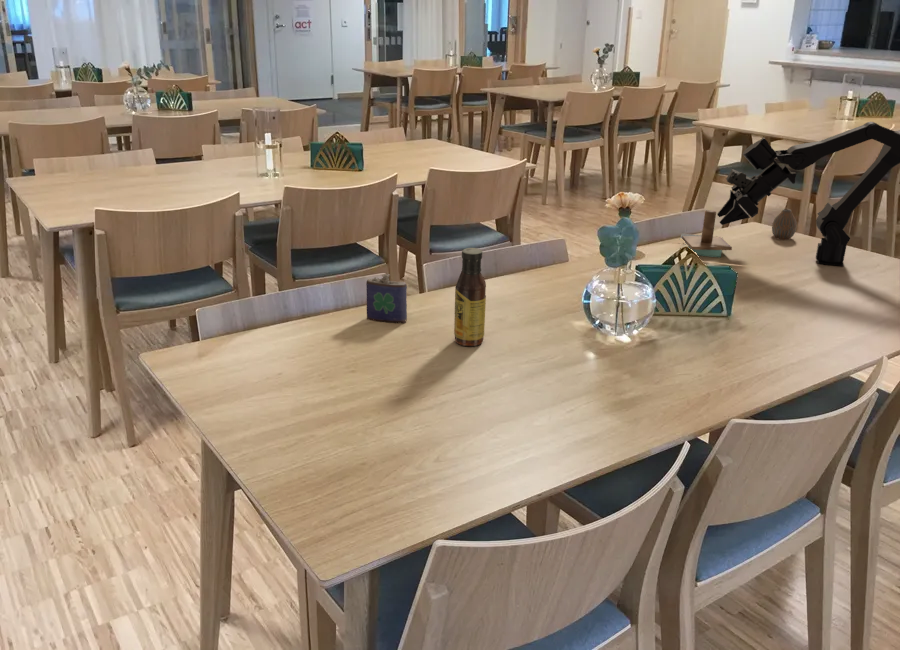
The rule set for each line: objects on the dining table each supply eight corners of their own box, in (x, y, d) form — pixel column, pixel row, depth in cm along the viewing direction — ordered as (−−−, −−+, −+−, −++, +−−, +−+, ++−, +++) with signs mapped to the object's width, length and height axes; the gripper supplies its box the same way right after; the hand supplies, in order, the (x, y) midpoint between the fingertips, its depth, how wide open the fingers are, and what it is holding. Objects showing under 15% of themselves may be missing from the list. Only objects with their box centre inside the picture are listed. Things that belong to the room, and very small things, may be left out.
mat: (722, 238, 244) (722, 237, 243) (720, 249, 233) (720, 247, 233) (681, 234, 247) (681, 233, 247) (677, 244, 237) (678, 243, 237)
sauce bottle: (452, 336, 169) (454, 245, 162) (482, 335, 170) (485, 244, 163) (455, 348, 163) (457, 254, 156) (486, 348, 164) (489, 254, 156)
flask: (408, 320, 178) (407, 274, 174) (404, 325, 175) (403, 278, 171) (369, 315, 180) (367, 270, 176) (364, 320, 177) (362, 274, 173)
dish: (722, 250, 232) (723, 241, 231) (720, 258, 224) (721, 250, 223) (689, 246, 235) (690, 238, 234) (687, 255, 227) (688, 246, 226)
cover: (720, 239, 234) (724, 207, 230) (731, 250, 223) (736, 216, 220) (682, 238, 234) (686, 206, 230) (691, 249, 224) (696, 215, 220)
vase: (796, 241, 242) (801, 213, 239) (772, 240, 243) (777, 211, 240) (792, 235, 248) (797, 207, 245) (768, 234, 249) (773, 206, 246)
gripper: (743, 154, 227) (698, 191, 233) (751, 166, 210) (702, 206, 216) (769, 183, 228) (723, 219, 234) (778, 197, 211) (729, 236, 217)
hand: (719, 219), depth 225 cm, fingers open, 9 cm apart
